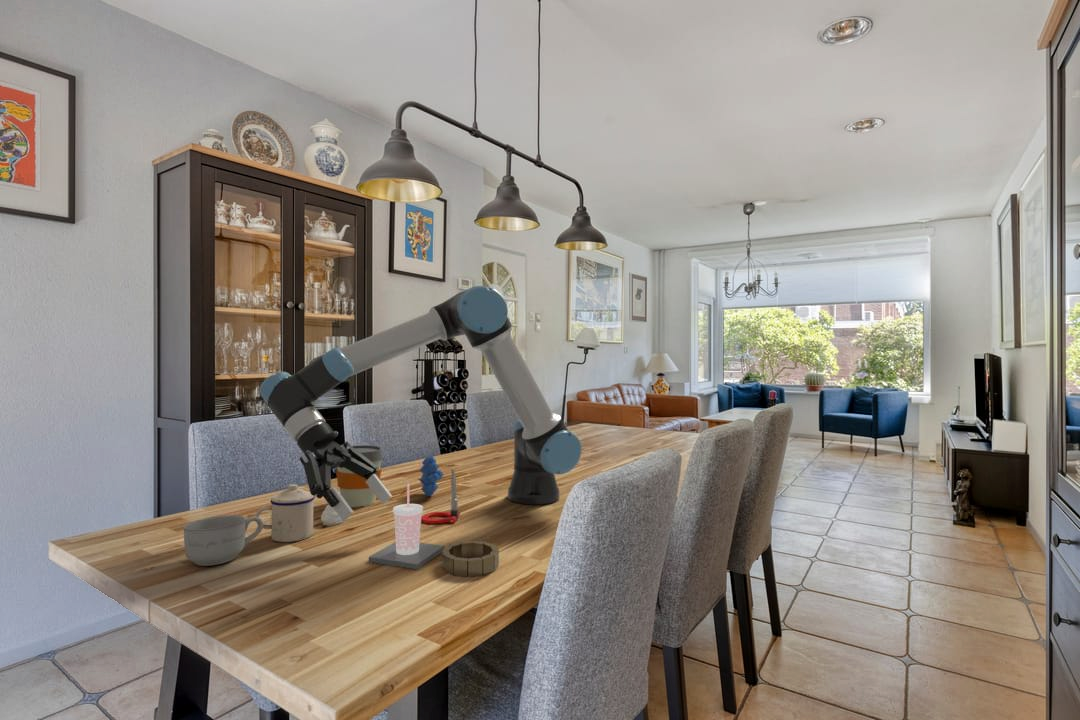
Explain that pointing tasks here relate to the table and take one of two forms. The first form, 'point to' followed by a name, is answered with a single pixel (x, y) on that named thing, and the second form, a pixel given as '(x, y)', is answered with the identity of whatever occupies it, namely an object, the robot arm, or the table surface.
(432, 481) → the grapes
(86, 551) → the table surface
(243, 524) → the teacup
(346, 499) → the reusable coffee cup
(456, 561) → the stone block ring
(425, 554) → the coaster
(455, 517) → the tow hook
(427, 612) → the table surface
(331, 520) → the white meringue swirl
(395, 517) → the beverage cup
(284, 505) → the teacup with lid
